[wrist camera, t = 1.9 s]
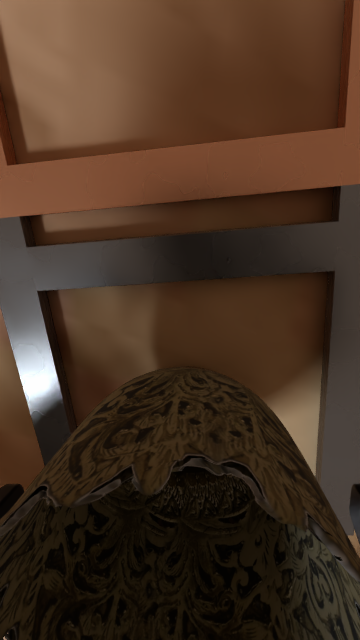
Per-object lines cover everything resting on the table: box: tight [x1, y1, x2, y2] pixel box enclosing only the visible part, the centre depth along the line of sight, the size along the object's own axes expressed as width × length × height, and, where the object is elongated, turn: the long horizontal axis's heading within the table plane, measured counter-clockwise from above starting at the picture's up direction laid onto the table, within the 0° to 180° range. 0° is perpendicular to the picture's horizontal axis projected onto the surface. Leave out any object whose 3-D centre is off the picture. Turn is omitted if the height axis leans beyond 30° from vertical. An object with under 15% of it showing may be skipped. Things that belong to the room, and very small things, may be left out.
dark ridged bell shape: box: [0, 367, 360, 640], centre depth 9 cm, size 8×7×8 cm
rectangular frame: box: [0, 0, 360, 535], centre depth 10 cm, size 27×13×1 cm, turn 5°
